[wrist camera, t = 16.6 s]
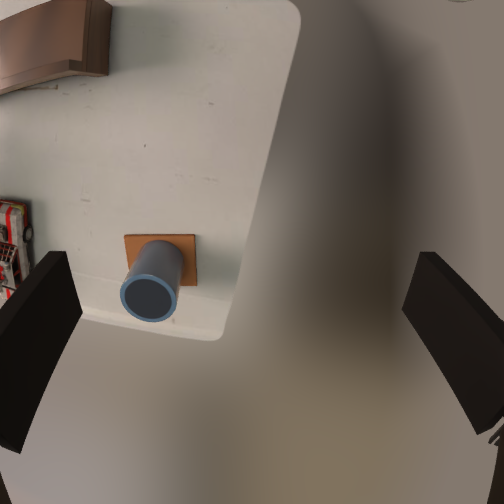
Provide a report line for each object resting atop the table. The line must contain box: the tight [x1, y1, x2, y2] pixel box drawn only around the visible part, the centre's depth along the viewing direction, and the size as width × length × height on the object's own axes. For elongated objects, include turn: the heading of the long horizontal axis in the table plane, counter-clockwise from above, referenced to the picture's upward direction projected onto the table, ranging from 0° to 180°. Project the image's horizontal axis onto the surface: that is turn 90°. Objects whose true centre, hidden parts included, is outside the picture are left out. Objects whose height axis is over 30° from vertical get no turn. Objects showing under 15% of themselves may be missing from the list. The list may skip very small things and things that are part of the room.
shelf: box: [0, 0, 112, 95], centre depth 23 cm, size 24×10×11 cm, turn 88°
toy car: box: [0, 199, 33, 300], centre depth 38 cm, size 8×18×8 cm, turn 166°
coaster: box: [124, 234, 197, 286], centre depth 44 cm, size 10×8×1 cm
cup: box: [120, 240, 185, 322], centre depth 39 cm, size 7×7×9 cm
